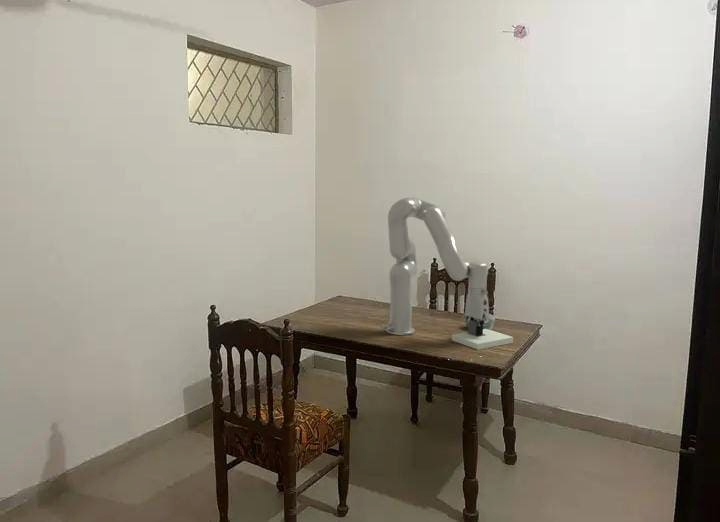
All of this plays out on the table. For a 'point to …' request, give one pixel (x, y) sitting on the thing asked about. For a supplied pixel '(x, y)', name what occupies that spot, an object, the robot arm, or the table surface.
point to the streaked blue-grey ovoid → (488, 324)
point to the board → (482, 339)
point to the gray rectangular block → (472, 327)
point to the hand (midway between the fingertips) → (475, 332)
